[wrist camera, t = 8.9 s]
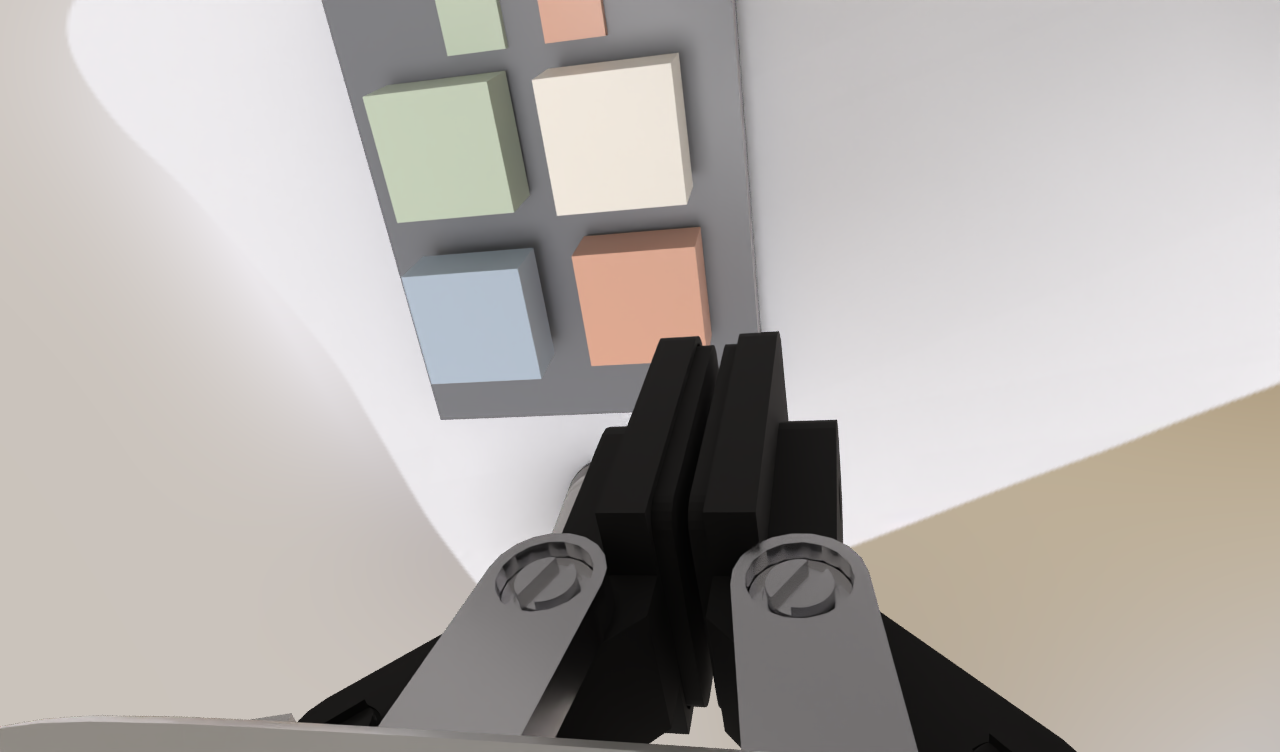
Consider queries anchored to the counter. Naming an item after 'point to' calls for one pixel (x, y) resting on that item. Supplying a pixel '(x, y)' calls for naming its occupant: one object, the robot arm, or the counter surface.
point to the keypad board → (524, 48)
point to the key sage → (449, 147)
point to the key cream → (615, 134)
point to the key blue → (480, 316)
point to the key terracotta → (641, 292)
